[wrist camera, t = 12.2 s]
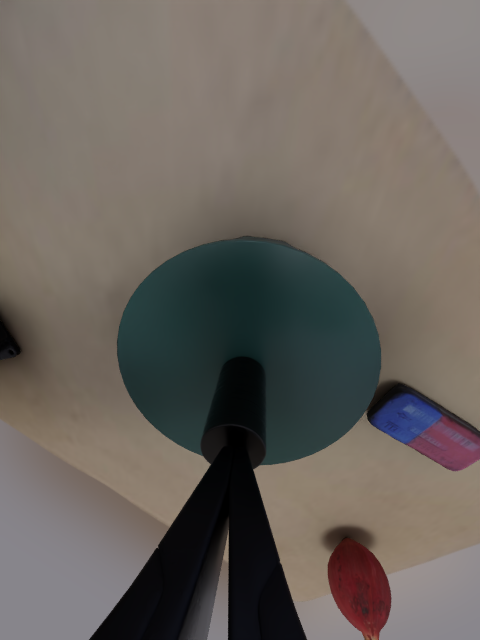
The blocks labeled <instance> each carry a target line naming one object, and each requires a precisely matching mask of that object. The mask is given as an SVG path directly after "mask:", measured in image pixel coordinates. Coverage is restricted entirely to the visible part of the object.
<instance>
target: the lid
mask: <svg viewBox="0 0 480 640" xmlns="http://www.w3.org/2000/svg"><path fill="white" fill-rule="evenodd" d="M117 356H118V362H119V368H120V372H121V375H122V379H123V382H124V384H125V386H126V389H127V391H128V393H129V395H130V397H131V398H132V400H133V402H134V403H135V405H136V406H137V408H138V409H139V410H140V412H141V413H142V414H143V415H144V417H145V418H146V419H147V420H148V421H149V422H150V423H151V424H152V425H153V426H154V427H155V428H156V429H157V430H159V431H160V432H161V433H162V434H164V435H165V436H166V437H168V438H169V439H171V440H172V441H174V442H175V443H177V444H178V445H180V446H182V447H184V448H186V449H188V450H189V451H192V452H194V453H197V454H199V455H201V456H204V458H205V459H206V460H207V461H208V462H209V463H210V464H212V463H213V461H214V459H215V458H216V456H217V455H218V453H219V452H220V450H221V449H222V448H223V447H224V446H228V447H234V448H236V447H241V448H246V449H247V451H248V454H249V457H250V461H251V464H252V467H253V469H255V468H256V467H258V466H259V465H272V464H279V463H286V462H290V461H294V460H298V459H301V458H304V457H306V456H309V455H312V454H314V453H316V452H318V451H320V450H322V449H324V448H326V447H328V446H329V445H331V444H332V443H334V442H336V441H337V440H338V439H340V438H341V437H342V436H343V435H345V434H346V433H347V432H348V431H349V430H350V429H351V428H352V427H353V426H354V425H355V424H356V423H357V422H358V421H359V419H360V418H361V417H362V415H363V414H364V412H365V411H366V410H367V408H368V406H369V404H370V402H371V400H372V398H373V396H374V393H375V390H376V388H377V385H378V381H379V375H380V370H381V347H380V341H379V335H378V332H377V329H376V326H375V323H374V320H373V317H372V316H371V314H370V312H369V310H368V308H367V306H366V304H365V302H364V301H363V300H362V298H361V297H360V296H359V294H358V293H357V292H356V290H355V289H354V288H353V287H352V286H351V285H350V284H349V283H348V282H347V281H346V280H345V279H344V278H343V277H342V276H341V275H340V274H339V273H338V272H336V271H335V270H334V269H332V268H331V267H329V266H328V265H327V264H325V263H324V262H323V261H321V260H319V259H317V258H315V257H313V256H312V255H310V254H308V253H306V252H304V251H301V250H298V249H296V248H293V247H290V246H287V245H285V244H280V243H275V242H270V241H266V240H254V239H232V240H221V241H217V242H212V243H207V244H203V245H200V246H197V247H195V248H192V249H189V250H186V251H184V252H182V253H180V254H178V255H177V256H175V257H173V258H171V259H169V260H167V261H166V262H164V263H163V264H162V265H160V266H159V267H158V268H156V269H155V270H154V271H153V272H151V273H150V274H149V276H148V277H147V278H146V279H145V280H144V281H143V282H142V283H141V284H140V285H139V286H138V288H137V289H136V291H135V292H134V294H133V295H132V296H131V298H130V300H129V302H128V304H127V306H126V308H125V310H124V313H123V316H122V319H121V322H120V326H119V332H118V339H117Z"/></svg>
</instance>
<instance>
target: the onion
mask: <svg viewBox="0 0 480 640" xmlns="http://www.w3.org/2000/svg"><path fill="white" fill-rule="evenodd" d="M328 580H329V585H330V589H331V593H332V595H333V598H334V600H335V602H336V604H337V606H338V608H339V609H340V611H341V612H342V614H343V615H344V616H345V617H346V618H347V620H348V621H349V622H350V623H351V624H352V625H353V626H354V627H355V628H357V629H358V630H359V631H361V632H362V634H363V636H364V638H365V640H379V632H380V630H381V629H382V628H383V627H384V625H385V624H386V622H387V619H388V617H389V612H390V608H391V591H390V587H389V583H388V579H387V576H386V574H385V572H384V570H383V567H382V566H381V564H380V562H379V561H378V560H377V558H376V557H375V556H374V554H373V553H372V552H370V551H369V550H368V549H367V548H366V547H364V546H363V545H361V544H360V543H358V542H356V541H354V540H352V539H351V538H344V539H343V540H342V542H341V543H340V544H339V545H338V546H337V547H336V548H335V550H334V551H333V553H332V555H331V556H330V559H329V563H328Z"/></svg>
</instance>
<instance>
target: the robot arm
mask: <svg viewBox="0 0 480 640" xmlns="http://www.w3.org/2000/svg"><path fill="white" fill-rule="evenodd" d="M20 353H21V351H20V349H19V347H18V346H17V344H16V343H15V341H14V340H13V338H12V337H11V335H10V334H9V332H8V331H7V329H6V328H5V326H4V325H3V324H2V322H1V321H0V360H3V359H7V358H12V357H15V356H17V355H19V354H20ZM228 530H229V584H228V585H229V586H228V593H229V594H228V601H229V602H228V640H307V639H306V636H305V633H304V630H303V628H302V625H301V622H300V620H299V617H298V614H297V612H296V609H295V606H294V603H293V600H292V597H291V594H290V591H289V588H288V584H287V581H286V578H285V575H284V571H283V568H282V565H281V563H280V558H279V555H278V552H277V548H276V545H275V542H274V538H273V535H272V531H271V528H270V525H269V521H268V518H267V515H266V511H265V508H264V505H263V501H262V498H261V494H260V491H259V488H258V484H257V481H256V478H255V474H254V471H253V467H252V464H251V461H250V457H249V454H248V451H247V449H246V448H241V447H236V448H234V447H228V446H224V447H223V448H222V449H221V450H220V452H219V453H218V455H217V456H216V458H215V459H214V461H213V463H212V464H211V466H210V467H209V469H208V470H207V472H206V473H205V475H204V476H203V478H202V479H201V481H200V482H199V484H198V485H197V487H196V488H195V490H194V491H193V493H192V495H191V496H190V498H189V499H188V501H187V502H186V504H185V505H184V507H183V508H182V510H181V511H180V513H179V514H178V516H177V517H176V519H175V520H174V522H173V523H172V525H171V527H170V528H169V530H168V531H167V533H166V534H165V536H164V537H163V539H162V540H161V542H160V544H159V545H158V548H156V549H155V551H154V553H153V554H152V555H151V557H150V558H149V560H148V562H147V563H146V564H145V566H144V567H143V569H142V570H141V572H140V573H139V575H138V576H137V577H136V579H135V580H134V582H133V583H132V585H131V586H130V588H129V589H128V590H127V591H126V593H125V594H124V595H123V597H122V598H121V599H120V601H119V602H118V603H117V605H116V606H115V607H114V609H113V610H112V611H111V613H110V614H109V615H108V616H107V618H106V619H105V620H104V621H103V623H102V624H101V625H100V626H99V628H98V629H97V631H96V632H95V633H94V634H93V635H92V637H91V638H90V639H89V640H207V637H208V632H209V627H210V622H211V616H212V611H213V606H214V601H215V596H216V590H217V585H218V581H219V575H220V570H221V565H222V560H223V555H224V550H225V545H226V540H227V535H228Z"/></svg>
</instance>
